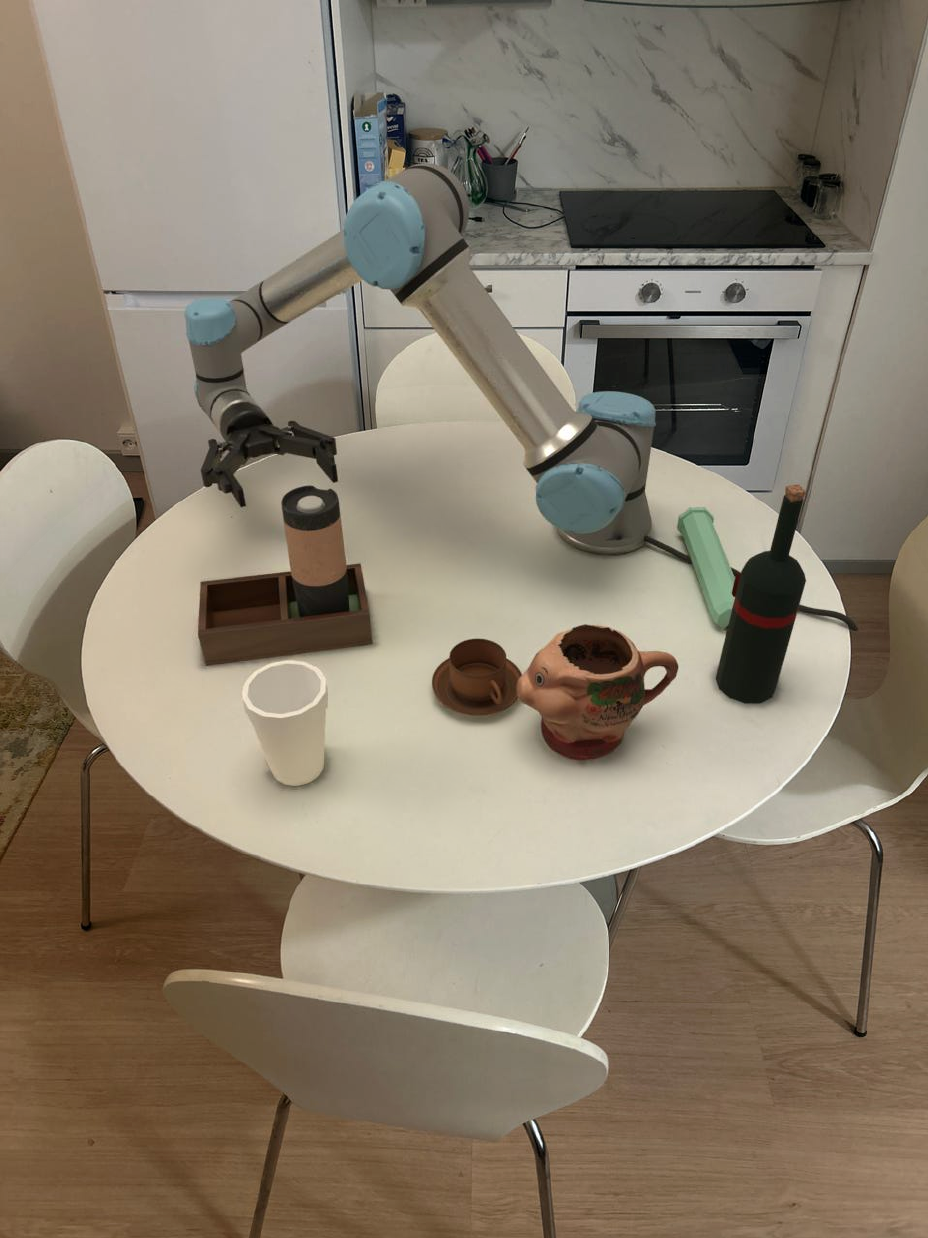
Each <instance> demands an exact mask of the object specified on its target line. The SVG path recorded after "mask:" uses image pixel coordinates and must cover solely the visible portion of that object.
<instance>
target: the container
mask: <svg viewBox="0 0 928 1238" xmlns="http://www.w3.org/2000/svg"><path fill="white" fill-rule="evenodd" d="M677 519H678V520H677V524H676V529H677V531H678V532H679V533H680V535H682V537H683V541H684V544H685V546H686V549H687V552H688V554H689V555H688V556H690V558H691V560H692V563H693V564H692V566H693V569H694V572H695V575H696V577H697V581H698V583H699V586H700V589H701V592H702V594H703V597H704V601H705V603H706V606H707V609H708V612H709V615H710V617H711V620H712V621H713V622H714V623H715V624H717V626H718V627H720V628H721V629H722V630H724V629H725V628H726V627H727V626H728V624H729V620H730V616H731V612H732V608H733V604H734V599H735V597H733V595H732V589H733V585H734V580H735V576H734V575H733V572H732V570H731V565H730V563H729V560H728V557H727V555H726V552H725V550H724V547H723V544H722V542H721V541H720V537H719V535H718V532H717V530H716V528H715V525H714V521H715V517H714V515H713V514H712V512H710V511H709V510H708V508H706V507H704V506H700V507H699V506H698V507H697V506H695V507H694V506H691V507H688V509H686V510H685V511H683V512H682V513H681V514H679V515H678V518H677Z"/></svg>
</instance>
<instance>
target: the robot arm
mask: <svg viewBox="0 0 928 1238" xmlns="http://www.w3.org/2000/svg"><path fill="white" fill-rule="evenodd" d="M469 218H470V203H469V197H468V195H467V192H466V189H465V187H464V185H463V183H462V182H461V181H460V180H459V178H458V177H457V176H456V175H455V174H454V173H453V172H452V171H450V170H449V169H447V168H446V167H444V166H441V165H439V164H435V163H429V162H428V163H427V162H426V163H425V162H424V163H417V164H413V165H410V166H408V167H407V168H405V169H403V170H402V171H400V172H398V173H396V174H394V175H392V176H390V177H388V178H386V179H384V180H382V181H379V182H376V183H374V184H372V185H371V186H370V187H369V188H368V189H366V190H365V191H364V192H363V193H361V194H360V195H359V196H357V198H355V200H354V201H353V202H352V204H351V205H350V207H349V209H348V211H347V212H346V215H345V218H344V223H343V229H341V230H340V231H338V232H337V233H335V234H334V235H332V236H330V237H329V238H327V239H325V240H324V241H322V242H321V243H320V244H318V245H316V246H315V247H313V248H312V249H310V250H308V251H307V252H305V253H304V254H301V256H299V257H298V258H296V259H295V260H293V261H291V262H289V264H287V265H285V266H284V267H282V268H281V269H279V270H276V272H274V273H273V274H271V275H269V276H268V277H266V278H265V279H264V280H261V281H260V282H259V283H257V284H255V285H253V286H252V287H250V288H248V290H245V291H244V292H242V293H241V294H239V295H238V296H236V297H234V298H233V299H231V300H227V299H223V298H221V297H205V298H201V299H197V300H194V301H192V302H190V303H189V304H188V305H187V306H186V307H185V309H184V320H185V327H186V328H185V330H186V332H185V333H186V337H187V341H188V343H189V348H190V353H191V358H192V363H193V367H194V372H195V379H196V380H195V382H194V387H193V388H194V396H195V398H196V400H197V404H198V406H199V407H200V408H201V411H203V413H204V414H205V415H206V416H207V417H208V419H209V420H210V421H211V423H212V424H213V425H214V427H215V428H216V430H217V431H218V433H219V434H220V436H221V437H222V439H223V440H224V441H222V442H220V441H217V439H215V438H209V439H208V440H207V444H208V450H207V453H206V455H205V458H204V460H203V463H202V466H201V469H200V475H201V479H202V483H203V487H205V488H210V487H212V486H213V485H214V484H216V485H217V489H218V491H220V492H221V491H222V492H223V493H224V494H225V495H226V494H231V495H232V496H233V498H234V499H235V501H236V502H237V504H238V506H239V507H240V508H245V507H247V503H246V498H245V492H244V488H243V486H242V485H241V484H240V482H239V481H238V479H237V478H236V476H235V473H236V472H237V471H238V470H239V469H240V467H241V466H245V465H246V464H247V462H249V460H250V459H255V458H259V457H261V456H265V455H271V454H273V455H279V456H285V455H286V454H287V455H294V456H299V457H304V458H308V459H315V460H316V464H317V465H318V466H319V468H320V469H321V470H322V471H323V473H324V474H325V475H326V476H327V478H328V479H329V480H330V481H331V482H332V483H333V484H335V483H337V482H339V477H338V469H337V464H336V459H335V456H336V455H337V454H338V449H337V441H336V438H335V437H333V436H331V435H328V434H325V433H322V432H319V431H317V430H314V429H311V428H309V427H305V426H303V425H300V424H299V423H298V422H297V421H296V420H288V422H287V426H285V427H283V428H280V427H279V426H275V425H274V424H273V422H272V420H271V419H270V417H269V416H268V415H267V414H266V412H265V411H264V410H263V409H262V407H261V406H260V405H259V404H258V403H257V402H256V400H255V399H254V398H253V396H252V395H251V394H250V392H249V391H248V387H247V382H246V377H245V370H244V369H245V368H244V364H243V357H242V353H244V352H245V351H247V350H248V349H250V348H251V347H253V346H255V345H256V344H258V343H259V342H260V341H261V340H263V339H265V338H266V337H268V336H269V335H271V334H273V333H274V332H276V331H278V330H279V329H282V328H283V327H285V326H286V325H288V324H289V323H291V322H293V321H294V320H296V319H299V318H300V317H301V316H304V315H305V314H306V313H309V312H310V311H311V310H314V309H315V308H317V307H319V306H320V305H322V304H324V303H326V302H327V301H329V300H331V299H333V298H334V297H336V296H337V295H339V294H341V293H342V292H343V293H344V291H346V290H348V289H350V288H352V287H353V286H355V285H357V284H359V283H361V282H362V281H364V282H365V283H367V284H368V285H370V286H372V287H378V288H380V289H381V290H389V291H390V292H391V293H392V294H393V296H394V297H395V298H396V300H397V301H398V302H399V303H400V305H401V307H408V308H414V309H416V310H417V309H418V310H419V311H420V312H421V314H422V315H423V316H424V318H425V319H426V320H427V321H428V323H429V324H430V325H431V327H432V328H433V330H434V331H435V333H436V334H437V335H438V336H439V337H440V339H441V340H442V342H443V343H444V344H445V346H447V348H448V350H450V352H451V353H452V355H453V356H454V357H455V358H456V360H457V362H458V363H459V364H460V365H461V367H462V369H464V370H465V372H466V373H467V375H468V376H469V377H470V379H471V380H472V381H473V382H474V384H475V385H476V387H477V388H478V389H479V391H480V392H481V393H482V395H483V396H484V397H485V398H486V400H487V401H488V402H489V404H490V406H492V408H493V409H494V410H495V412H496V413H497V414H498V415H499V417H500V418H501V420H502V421H503V422H504V423H505V425H506V426H507V428H508V429H509V430H510V431H511V433H512V434H513V435H514V436H515V438H516V439H517V441H518V442H519V443H520V445H521V446H522V447H523V449H524V458H523V466H524V468H525V469H526V471H527V472H528V474H529V475H530V476H531V477H532V479H533V480H534V481H535V483H536V485H535V504H536V506H537V509H538V511H539V512H540V514H541V516H542V517H543V518H544V519H545V520H546V521H547V522H548V523H550V524H551V525H552V526H554V527H556V528H557V532H558V533H559V535H560V536H561V539H563V541H565V542H566V543H567V544H569V545H570V546H572V547H574V548H576V549H579V550H581V551H584V552H587V553H592V554H598V555H620V554H621V555H622V554H626V553H630V552H633V551H635V550H638V549H640V548H641V547H643V546H644V545H645V544H646V543H648V544H649V545H652V546H654V547H656V548H659V549H660V550H662V551H664V552H667V553H668V554H670V555H672V556H674V557H676V558H678V559H680V560H682V561H684V562H686V563H689V564H692V565H693V563H692V560H691V558H690V555H687V554H685V553H683V552H681V551H679V550H677V549H676V548H674V547H672V546H670V545H668V544H666V543H664V542H662V541H659V540H657V539H655V538H653V537H651V533H652V526H653V525H652V515H651V511H650V507H649V501H648V498H647V494H646V487H647V480H648V473H649V465H650V458H651V452H652V451H651V450H652V446H653V445H652V443H653V436H654V429H655V427H656V425H657V423H656V408H655V406H654V405H653V403H651V401H649V400H647V399H646V398H644V397H642V396H639V395H637V394H633V393H628V392H624V391H623V392H622V391H614V390H613V391H612V390H611V391H610V390H605V391H595V392H591V393H588V394H586V395H584V396H582V397H581V398H580V400H579V402H578V406H577V410H576V411H575V410H574V409H573V408H572V406H571V404H570V403H569V402H568V401H567V399H566V398H565V397H564V396H563V394H562V393H561V391H560V390H559V388H558V387H557V386H556V385H555V383H554V381H553V380H552V379H551V378H550V376H549V374H548V373H547V372H546V370H545V369H544V368H543V366H542V365H541V364H540V362H539V361H538V359H537V358H536V356H534V354H533V353H532V351H531V350H530V349H529V347H528V346H527V344H526V343H525V342H524V341H523V339H522V338H521V336H520V335H519V333H518V332H517V331H516V329H515V328H514V326H513V325H512V324H511V322H510V321H509V320H508V318H507V317H506V315H505V314H504V312H503V311H502V309H500V307H499V306H498V305H497V302H496V301H495V300H494V299H493V297H492V296H491V295H490V293H489V292H488V291H487V289H486V288H485V286H484V285H483V284H482V282H481V281H480V279H479V278H478V277H477V275H476V274H475V272H474V271H473V270H472V268H471V265H470V261H471V247H470V245H469V244H468V243H467V241H466V240H465V239H464V237H463V235H464V233H465V231H466V229H467V225H468V222H469ZM227 451H228V452H227ZM226 452H227V454H226ZM225 454H226V455H225ZM224 455H225V456H224ZM730 567H731V566H730ZM731 570H732V572H733V575H734V577H736V576H737V574H738V573H741V571H739V570H737V569H735V568H734V567H731ZM798 612H802V613H804V614H808V615H812V616H820V617H826V618H833V619H836V620H839V621H841V622H843V623H844V624H845V625H846V626H848V628H849V629H850V630H852V631H854V632H858V631H859V628H858V626H857V624H856V623H855V622H854V621H853V620H852V619H851V618H850V617H849V616H847V614H844V613H841V612H839V611H836V610H830V609H821V608H816V607H811V606H806V605H803V604H799V608H798Z"/></svg>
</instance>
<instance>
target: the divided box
mask: <svg viewBox="0 0 928 1238" xmlns="http://www.w3.org/2000/svg"><path fill="white" fill-rule="evenodd" d="M346 565H347V578H348V593H349V608H350V611H348V612H340V613H332V614H324V615H316V616H307V617H300V616H299V611H298V606H297V601H296V596H295V591H294V586H293V580H292V575H291V570H289V571H284V572H283V571H281V572H272V573H264V574H263V573H262V574H255V575H247V576H238V577H229V578H219V579H211V580H204V581H200V586H199V605H198V609H199V610H198V623H197V624H198V626H197V627H198V628H197V637H198V640H199V644H200V648H201V652H202V657H203V661H204V665H205V666H212V665H218V664H219V665H220V664H226V663H234V662H242V661H243V662H244V661H249V660H258V659H265V658H275V657H282V656H290V655H297V654H305V653H312V652H320V651H328V650H336V649H337V650H338V649H344V648H352V647H360V646H366V645H373V634H372V623H371V612H370V607H369V606H370V605H369V602H368V595H367V590H366V585H365V584H366V583H365V579H364V574H363V568H362V564H361V563H352V564H351V563H350V564H346Z"/></svg>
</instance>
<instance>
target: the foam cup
mask: <svg viewBox="0 0 928 1238" xmlns="http://www.w3.org/2000/svg"><path fill="white" fill-rule="evenodd" d="M242 686H243V687H242V693H241V699H242V704H243V708H244V712H245V714H246V716H247V718H248V720H249V722H250V723H251V726H252V728H253V730H254V733H255V735H256V738H257V740H258V743H259V744H260V747H261V750H262V752H263V755H264V757H265V760H266V762H267V764H268V767H269V769H270V771H271V774H272V775H273V776H274V779H275V780H276V781H277V782H279V783H281V784H283V785H285V786H293V787H298V786H303V785H307V784H309V783H311V782H313V781H314V780H316V779H317V778H318V777H320V774H321V773H322V772H323V770H324V766H325V765H324V764H325V742H326V716H327V715H326V714H327V708H328V705H329V690H328V684H327V678H326V676H325V675H324V674H323V672H322V671H321V670H320V668H319V667H317V666H314V665H313V664H311V663H308V662H306V661H301V660H291V659H290V660H289V659H285V660H281V661H276V662H270V663H268V664H266V665H264V666H262V667H260V668H259V669H257V670H255V671H253V672H252V673H251V675H250V676H249V677H248V678H247V679H246V681H244V683H243V685H242Z"/></svg>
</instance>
